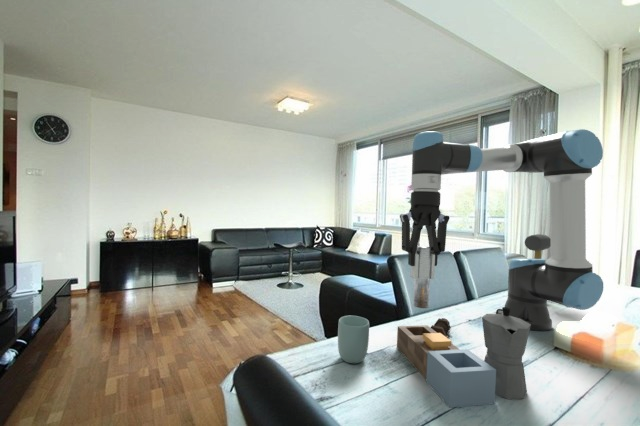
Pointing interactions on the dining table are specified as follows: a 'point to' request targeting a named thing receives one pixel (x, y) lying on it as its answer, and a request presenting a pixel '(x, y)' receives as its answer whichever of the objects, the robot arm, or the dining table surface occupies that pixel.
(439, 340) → the release button
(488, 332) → the coffeepot
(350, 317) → the cup
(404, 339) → the socket block
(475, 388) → the block
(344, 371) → the dining table surface
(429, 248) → the brushed steel rod
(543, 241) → the rubber mallet
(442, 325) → the bolt
